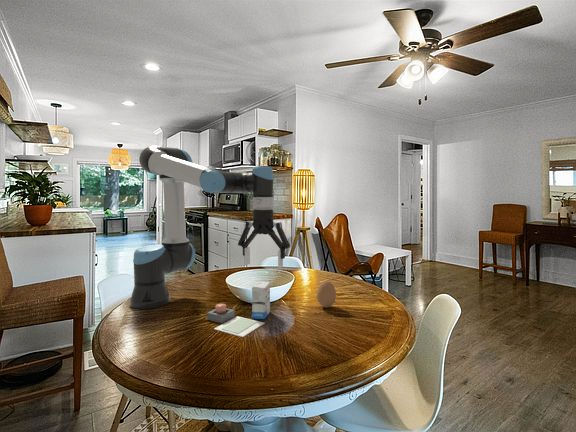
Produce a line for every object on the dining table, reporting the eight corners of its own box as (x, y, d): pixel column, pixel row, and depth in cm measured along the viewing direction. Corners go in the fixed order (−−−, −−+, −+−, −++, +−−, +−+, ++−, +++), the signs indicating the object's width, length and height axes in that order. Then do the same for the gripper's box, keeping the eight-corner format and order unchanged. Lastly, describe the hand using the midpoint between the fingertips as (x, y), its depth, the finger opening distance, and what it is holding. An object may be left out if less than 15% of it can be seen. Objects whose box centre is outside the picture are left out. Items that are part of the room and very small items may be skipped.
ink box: (264, 319, 119) (264, 288, 118) (251, 318, 120) (251, 287, 119) (270, 311, 128) (270, 281, 127) (258, 310, 129) (258, 280, 128)
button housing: (207, 319, 119) (207, 312, 119) (220, 313, 125) (219, 306, 125) (222, 323, 116) (222, 316, 116) (234, 316, 122) (234, 310, 122)
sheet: (214, 329, 111) (214, 327, 111) (237, 317, 122) (237, 315, 122) (242, 337, 105) (242, 335, 105) (264, 323, 116) (264, 322, 116)
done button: (213, 312, 120) (213, 306, 119) (220, 309, 123) (220, 302, 123) (221, 314, 118) (221, 307, 118) (228, 311, 121) (228, 304, 121)
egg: (322, 311, 128) (322, 284, 127) (313, 305, 135) (313, 279, 134) (339, 309, 130) (339, 282, 130) (330, 303, 137) (330, 277, 137)
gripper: (228, 208, 122) (229, 265, 123) (291, 209, 113) (291, 271, 114) (238, 207, 129) (239, 261, 130) (298, 208, 120) (298, 266, 121)
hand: (263, 266), depth 122 cm, fingers open, 13 cm apart
